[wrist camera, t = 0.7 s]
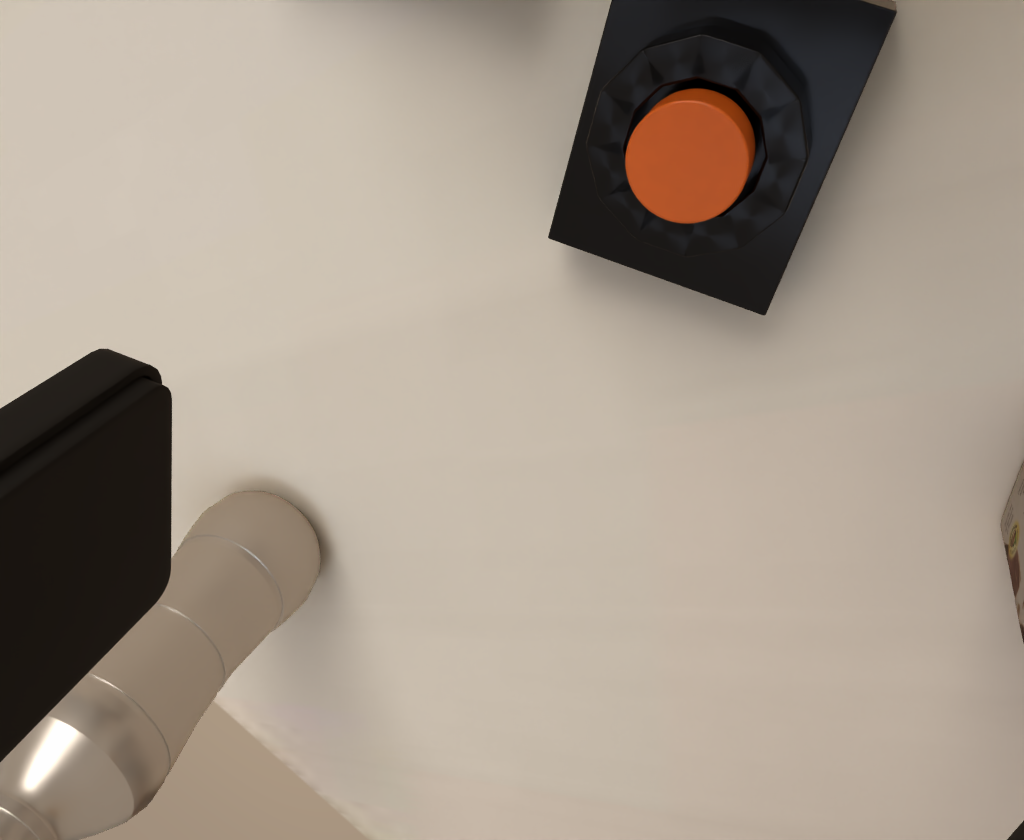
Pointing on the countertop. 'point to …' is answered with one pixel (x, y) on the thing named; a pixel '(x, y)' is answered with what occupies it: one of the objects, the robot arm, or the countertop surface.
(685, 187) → the button
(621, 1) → the button box
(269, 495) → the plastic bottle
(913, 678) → the countertop surface
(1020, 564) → the coffee box
